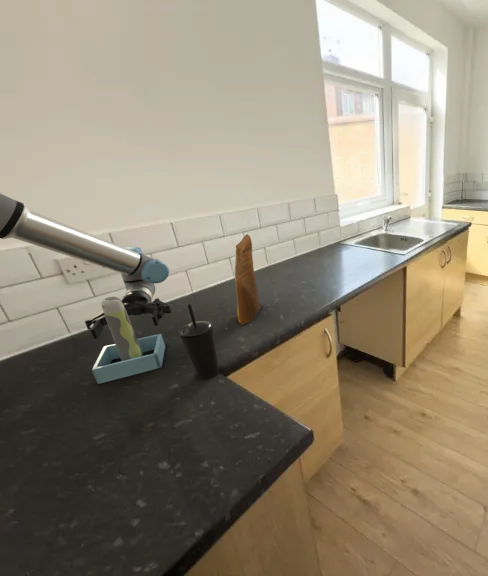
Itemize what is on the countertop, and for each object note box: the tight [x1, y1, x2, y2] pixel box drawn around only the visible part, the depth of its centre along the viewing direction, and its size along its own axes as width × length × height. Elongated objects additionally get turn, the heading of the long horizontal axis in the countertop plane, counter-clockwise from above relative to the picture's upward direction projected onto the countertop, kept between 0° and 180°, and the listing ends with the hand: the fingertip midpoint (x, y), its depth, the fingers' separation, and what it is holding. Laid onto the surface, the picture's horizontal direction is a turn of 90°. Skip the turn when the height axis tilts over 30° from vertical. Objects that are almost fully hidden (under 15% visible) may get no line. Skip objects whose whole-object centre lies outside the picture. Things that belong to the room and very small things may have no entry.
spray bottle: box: [100, 296, 145, 362], centre depth 85 cm, size 5×5×20 cm
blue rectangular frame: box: [91, 333, 166, 385], centre depth 88 cm, size 14×13×4 cm
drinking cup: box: [177, 303, 220, 380], centre depth 79 cm, size 8×8×20 cm
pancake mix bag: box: [234, 233, 262, 326], centre depth 110 cm, size 7×19×28 cm, turn 3°
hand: (125, 327), depth 87 cm, fingers open, 13 cm apart
